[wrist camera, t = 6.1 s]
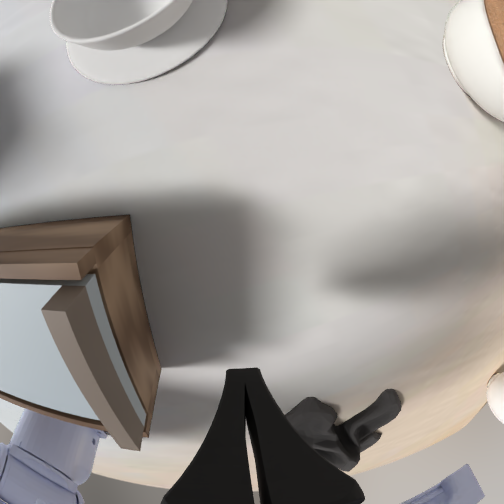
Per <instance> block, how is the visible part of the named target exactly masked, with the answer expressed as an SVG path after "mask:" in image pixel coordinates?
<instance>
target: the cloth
mask: <svg viewBox="0 0 504 504" xmlns="http://www.w3.org/2000/svg"><path fill="white" fill-rule="evenodd" d="M400 411H401V401H400V400H399V397H398V394H397V393H396V391H395V390H393V389H387V390H385V391H384V392H382V394H381V395H380V396H379V397H378V399H377V400H376V401H375V402H374V403H373V404H372V405H370V406H369V407H368V408H366V409H365V410H363V411H362V412H360V413H359V414H357V415H355V416H354V417H352V418H351V419H349V420H347V421H345V422H344V423H343V424H341V425H338V426H335V425H334V424H333V423H334V421H335V420H336V419H337V413H336V412H335V411H334V409H333V408H332V407H330V406H328V405H326V404H323V403H321V402H320V401H319V400H318V399H317V398H315V397H308V398H306V399H304V400H303V401H301V402H300V403H299V404H298V405H297V406H296V407H295V408H293V409H292V410H291V411H290V412H289V413H287V414H286V415H285V417H286V418H287V419H288V421H289V422H290V423H291V425H292V426H293V427H294V428H295V429H296V431H297V432H298V433H299V434H300V435H301V436H302V437H303V438H304V439H305V440H306V441H307V443H308V444H309V445H310V446H311V447H313V448H314V449H315V450H316V451H317V452H318V453H319V454H320V455H322V456H323V457H324V458H325V459H326V460H327V461H329V462H330V463H331V464H333V465H334V466H335V467H337V468H339V469H340V470H342V471H348V472H349V471H350V470H351V469H352V468H353V467H355V466H356V465H357V464H358V462H359V460H360V452H362V451H364V450H366V449H367V448H369V447H370V446H372V445H373V444H375V443H376V442H377V441H378V440H379V439H380V437H381V435H382V434H381V433H376V432H374V431H375V430H377V429H378V428H380V427H382V426H383V425H385V424H387V423H389V422H390V421H392V420H393V419H394V418H396V416H397V415H398V414H399V412H400Z"/></svg>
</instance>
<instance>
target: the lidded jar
mask: <svg viewBox="0 0 504 504" xmlns="http://www.w3.org/2000/svg"><path fill="white" fill-rule="evenodd" d="M443 51H444V56H445V59H446V62H447V65H448V67H449V69H450V72H451V74H452V75H453V77H454V79H455V81H456V82H457V84H458V85H459V86H460V87H461V89H462V90H463V91H464V92H465V93H466V94H468V95H469V96H470V97H471V98H472V99H473V100H474V101H475V102H476V103H477V104H478V105H479V106H480V107H481V108H482V109H483V110H485V111H486V112H487V113H489V114H490V115H492V116H493V117H495V118H496V119H498V120H500V121H502V122H504V0H461V1H460V2H458V3H457V4H456V5H455V6H454V7H453V8H452V10H451V11H450V13H449V15H448V18H447V20H446V24H445V35H444V37H443Z"/></svg>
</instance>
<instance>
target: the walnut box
mask: <svg viewBox="0 0 504 504" xmlns="http://www.w3.org/2000/svg"><path fill="white" fill-rule="evenodd" d="M86 274H95V275H96V279H97V283H98V287H99V291H100V295H101V298H102V302H103V305H104V309H105V312H106V315H107V318H108V322H109V325H110V328H111V331H112V334H113V337H114V339H115V342H116V345H117V348H118V350H119V353H120V356H121V358H122V361H123V363H124V366H125V368H126V371H127V373H128V376H129V378H130V380H131V383H132V385H133V387H134V390H135V392H136V394H137V396H138V398H139V400H140V403H141V405H142V407H143V409H144V411H145V413H146V419H145V425H144V430H143V436H142V437H148V438H149V431H150V425H151V420H152V415H153V409H154V404H155V398H156V393H157V388H158V382H159V377H160V373H161V366H160V362H159V359H158V355H157V352H156V348H155V345H154V341H153V337H152V333H151V329H150V325H149V321H148V317H147V312H146V308H145V303H144V299H143V294H142V289H141V284H140V279H139V273H138V268H137V262H136V256H135V250H134V243H133V236H132V229H131V221H130V215H118V216H106V217H94V218H83V219H73V220H63V221H54V222H45V223H37V224H29V225H21V226H14V227H7V228H0V278H3V279H39V280H82V279H83V278H84V277H85V275H86ZM0 398H1V399H4V400H6V401H8V402H11V403H13V404H15V405H18V406H20V407H23V408H26V409H28V410H31V411H34V412H36V413H39V414H42V415H45V416H48V417H51V418H55V419H58V420H61V421H65V422H68V423H72V424H76V425H80V426H84V427H88V428H93V429H97V430H102V431H107V430H106V428H105V427H104V425H103V424H102V423H101V421H100V420H95V419H90V418H86V417H81V416H77V415H73V414H69V413H65V412H61V411H58V410H54V409H51V408H48V407H44V406H41V405H38V404H35V403H32V402H29V401H26V400H24V399H21V398H18V397H16V396H13V395H11V394H8V393H6V392H3V391H1V390H0ZM107 432H108V431H107Z"/></svg>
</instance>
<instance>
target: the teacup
mask: <svg viewBox="0 0 504 504" xmlns="http://www.w3.org/2000/svg"><path fill="white" fill-rule="evenodd" d="M227 3H228V0H53V2H52V5H51V9H50V24H51V27H52V29H53V31H54V32H55V33H56V35H57V36H59V37H60V38H61V39H63V40H65V41H66V48H67V54H68V57H69V60H70V62H71V64H72V65H73V67H74V68H75V69H76V70H77V71H78V72H79V73H80V74H81V75H82V76H84V77H85V78H87V79H89V80H92V81H94V82H97V83H102V84H108V85H123V84H131V83H136V82H141V81H144V80H148V79H151V78H154V77H156V76H159V75H161V74H163V73H166V72H168V71H170V70H172V69H174V68H176V67H177V66H179V65H180V64H182V63H184V62H185V61H187V60H188V59H190V58H191V57H192V56H194V55H195V54H196V53H197V52H198V51H200V50H201V49H202V48H203V47H204V46H205V45H206V44H207V43H208V42H209V41H210V39H211V38H212V37H213V36H214V35H215V33H216V32H217V30H218V29H219V27H220V25H221V23H222V21H223V19H224V16H225V13H226V10H227Z"/></svg>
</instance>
